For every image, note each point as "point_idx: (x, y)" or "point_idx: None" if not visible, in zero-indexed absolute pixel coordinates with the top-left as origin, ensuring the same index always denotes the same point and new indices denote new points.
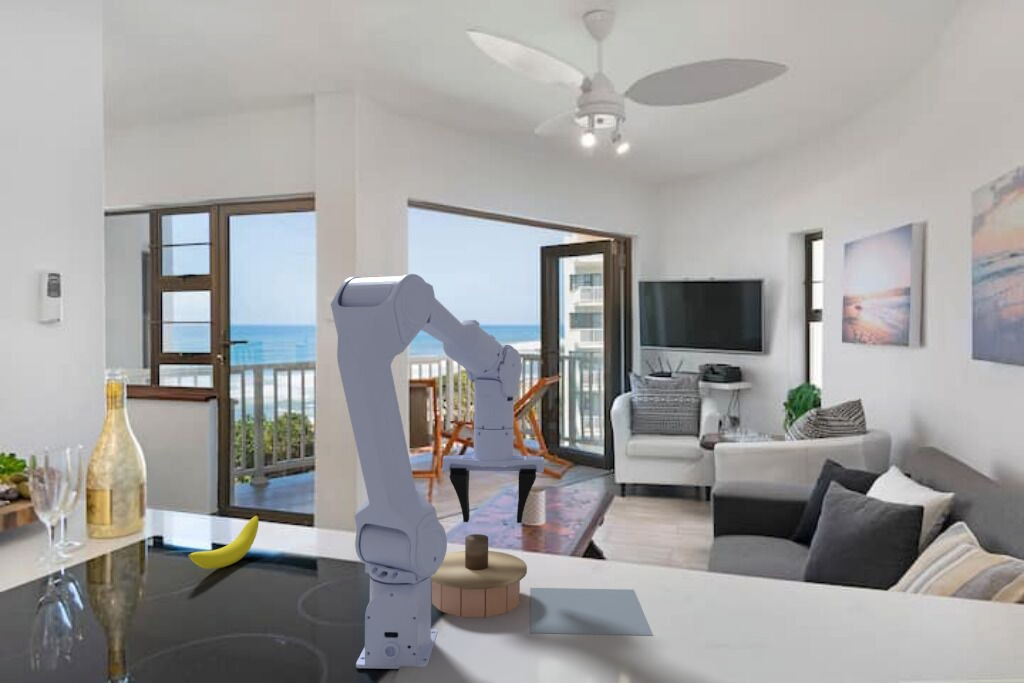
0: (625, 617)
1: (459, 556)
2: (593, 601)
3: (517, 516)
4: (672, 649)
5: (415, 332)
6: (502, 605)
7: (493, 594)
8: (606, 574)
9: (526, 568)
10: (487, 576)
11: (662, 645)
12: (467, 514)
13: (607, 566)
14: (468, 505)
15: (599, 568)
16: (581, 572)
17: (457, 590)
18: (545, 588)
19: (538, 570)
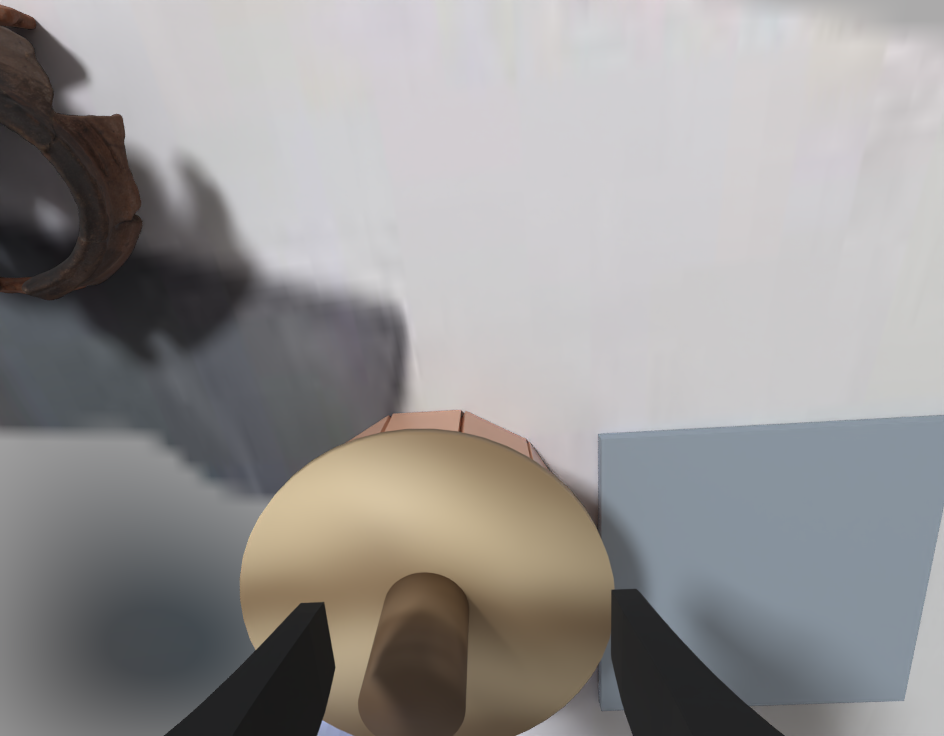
0: (864, 619)
1: (337, 515)
2: (797, 526)
3: (624, 703)
4: (924, 723)
5: None
6: None
7: None
8: (905, 229)
9: None
10: (479, 689)
11: (908, 709)
12: (319, 719)
13: (938, 124)
14: (293, 694)
15: (895, 156)
16: (807, 217)
17: None
18: (653, 440)
19: (632, 214)
